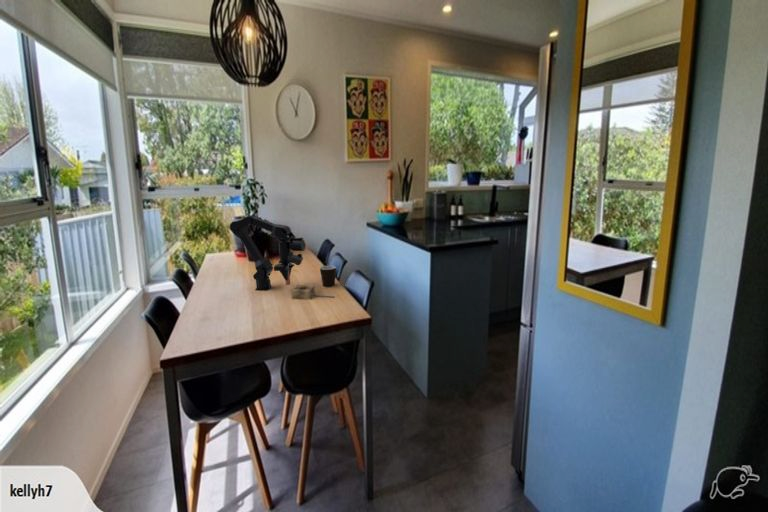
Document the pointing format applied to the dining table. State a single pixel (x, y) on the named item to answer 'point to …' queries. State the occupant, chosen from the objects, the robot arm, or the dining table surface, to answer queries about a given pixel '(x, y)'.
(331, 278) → the coffee mug
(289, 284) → the reddish pink rod
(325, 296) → the blue gray square bar
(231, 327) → the dining table surface
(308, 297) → the brown square holed block
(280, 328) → the dining table surface
